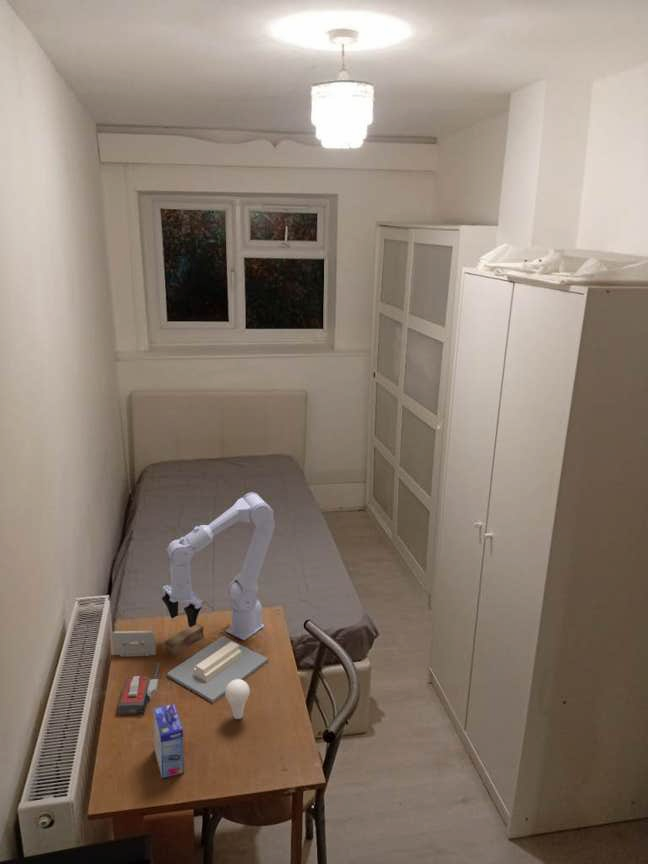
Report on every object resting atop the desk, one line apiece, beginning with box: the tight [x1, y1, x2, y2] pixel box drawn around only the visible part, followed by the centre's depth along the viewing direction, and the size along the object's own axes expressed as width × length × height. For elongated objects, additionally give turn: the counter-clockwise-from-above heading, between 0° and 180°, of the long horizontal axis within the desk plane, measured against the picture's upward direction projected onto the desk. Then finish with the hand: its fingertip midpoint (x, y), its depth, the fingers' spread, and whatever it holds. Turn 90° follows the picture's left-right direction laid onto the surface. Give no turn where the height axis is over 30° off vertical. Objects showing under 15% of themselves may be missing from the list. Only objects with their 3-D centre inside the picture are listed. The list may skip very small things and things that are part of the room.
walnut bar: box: [164, 622, 204, 657], centre depth 197 cm, size 12×4×4 cm, turn 144°
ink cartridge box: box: [152, 703, 185, 779], centre depth 152 cm, size 10×6×14 cm, turn 24°
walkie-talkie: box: [117, 662, 161, 715], centre depth 177 cm, size 9×4×20 cm
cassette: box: [111, 630, 157, 657], centre depth 191 cm, size 12×2×8 cm, turn 93°
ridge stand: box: [166, 635, 269, 704], centre depth 186 cm, size 22×18×4 cm
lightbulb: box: [224, 679, 251, 720], centre depth 167 cm, size 6×6×11 cm
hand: (183, 621), depth 194 cm, fingers open, 7 cm apart
